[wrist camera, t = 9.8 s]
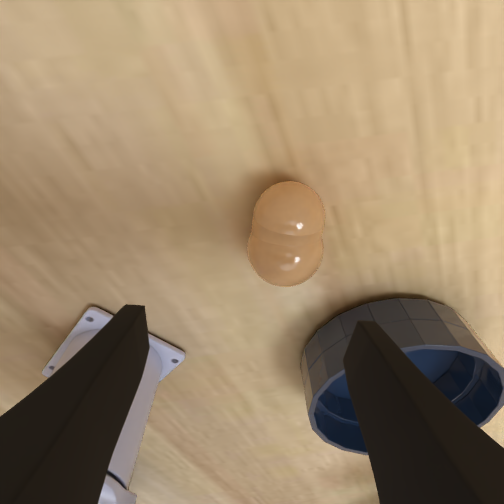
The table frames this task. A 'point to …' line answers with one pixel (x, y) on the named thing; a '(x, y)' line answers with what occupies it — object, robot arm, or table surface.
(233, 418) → the table surface
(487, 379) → the basin
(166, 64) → the table surface
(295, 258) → the tan double sphere
